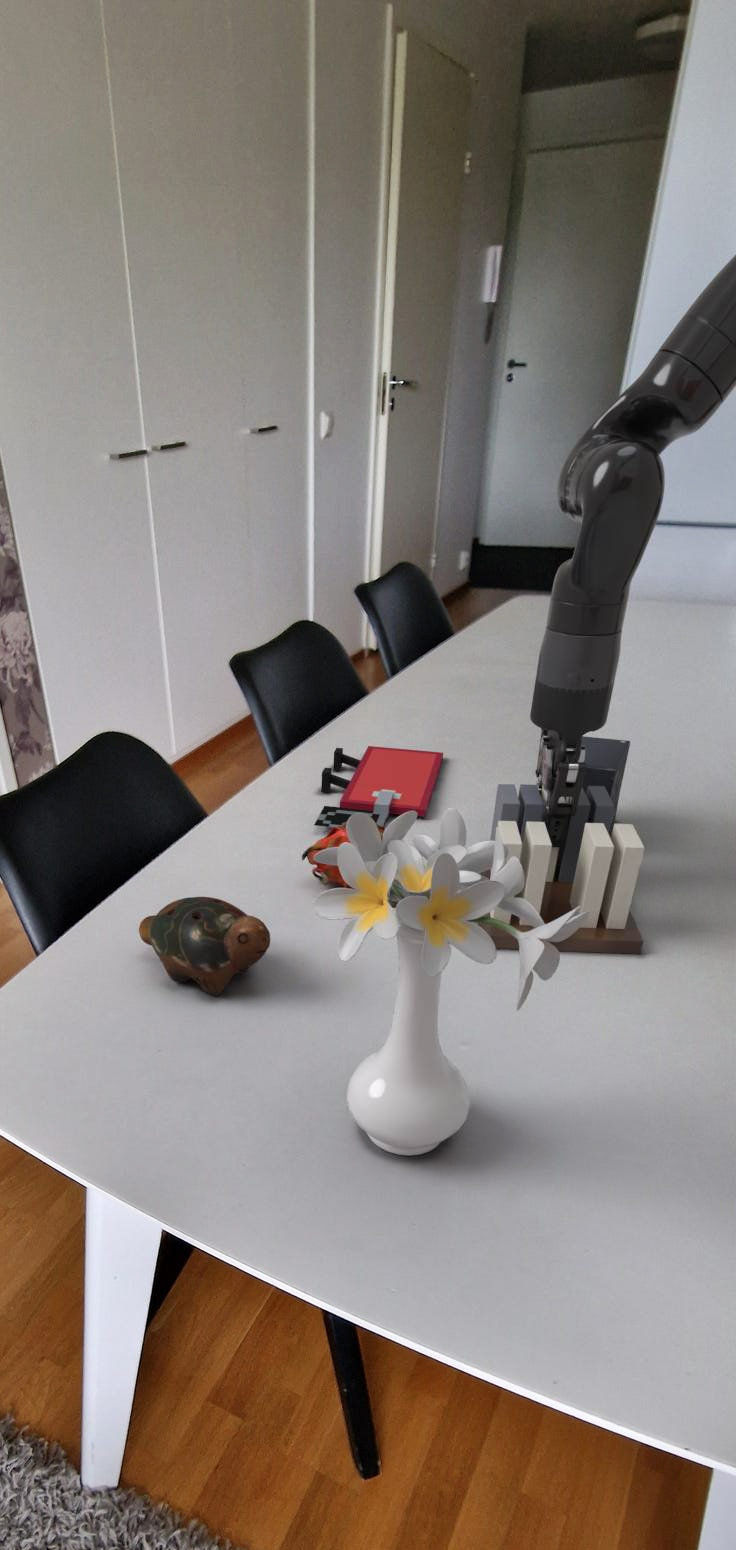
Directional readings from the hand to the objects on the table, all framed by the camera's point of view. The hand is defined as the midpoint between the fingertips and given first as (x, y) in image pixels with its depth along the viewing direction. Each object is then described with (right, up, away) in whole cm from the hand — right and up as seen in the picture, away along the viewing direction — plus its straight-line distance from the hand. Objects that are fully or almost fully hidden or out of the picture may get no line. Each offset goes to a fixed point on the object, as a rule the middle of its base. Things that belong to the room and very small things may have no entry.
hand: (547, 833), depth 101 cm
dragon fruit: (-21, -6, +4) cm, 22 cm away
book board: (0, -8, 0) cm, 8 cm away
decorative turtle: (-37, -16, -10) cm, 42 cm away
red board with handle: (-15, +11, +26) cm, 32 cm away
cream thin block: (0, -4, +3) cm, 4 cm away
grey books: (0, -4, +3) cm, 4 cm away
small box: (+9, +3, +14) cm, 17 cm away
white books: (-1, -10, -5) cm, 11 cm away
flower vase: (-20, -30, -29) cm, 46 cm away
